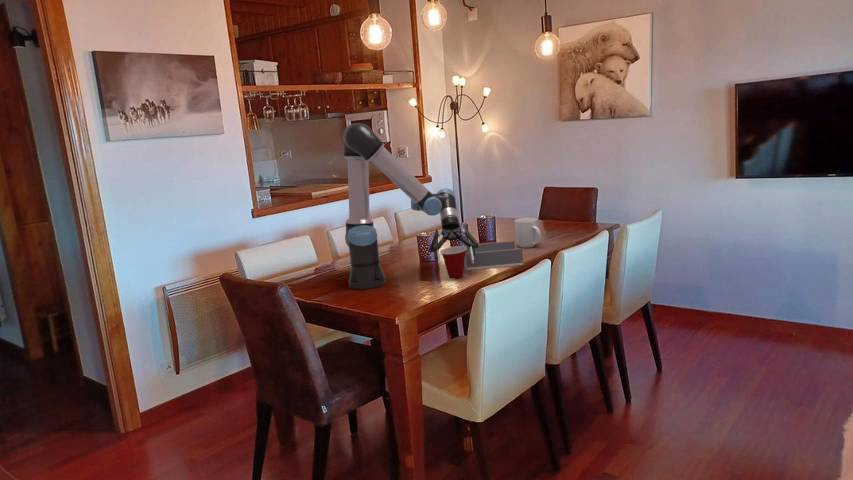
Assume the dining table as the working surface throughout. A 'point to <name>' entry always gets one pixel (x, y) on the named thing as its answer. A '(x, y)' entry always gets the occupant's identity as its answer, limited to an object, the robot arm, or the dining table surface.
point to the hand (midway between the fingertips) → (456, 263)
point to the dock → (494, 255)
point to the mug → (527, 232)
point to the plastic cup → (454, 261)
